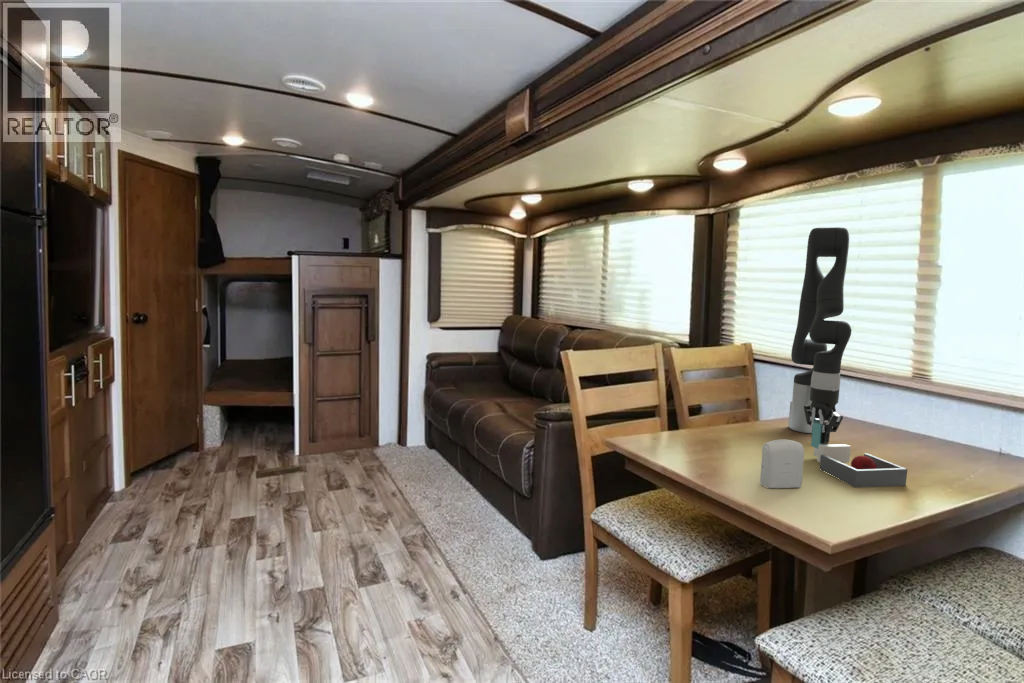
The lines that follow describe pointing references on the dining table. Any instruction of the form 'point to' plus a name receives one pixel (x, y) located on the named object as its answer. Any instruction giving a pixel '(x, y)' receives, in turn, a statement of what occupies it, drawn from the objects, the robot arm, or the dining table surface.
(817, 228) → the robot arm
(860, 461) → the onion
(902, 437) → the dining table surface
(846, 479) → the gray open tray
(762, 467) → the photo printer
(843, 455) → the teal-handled white slab
